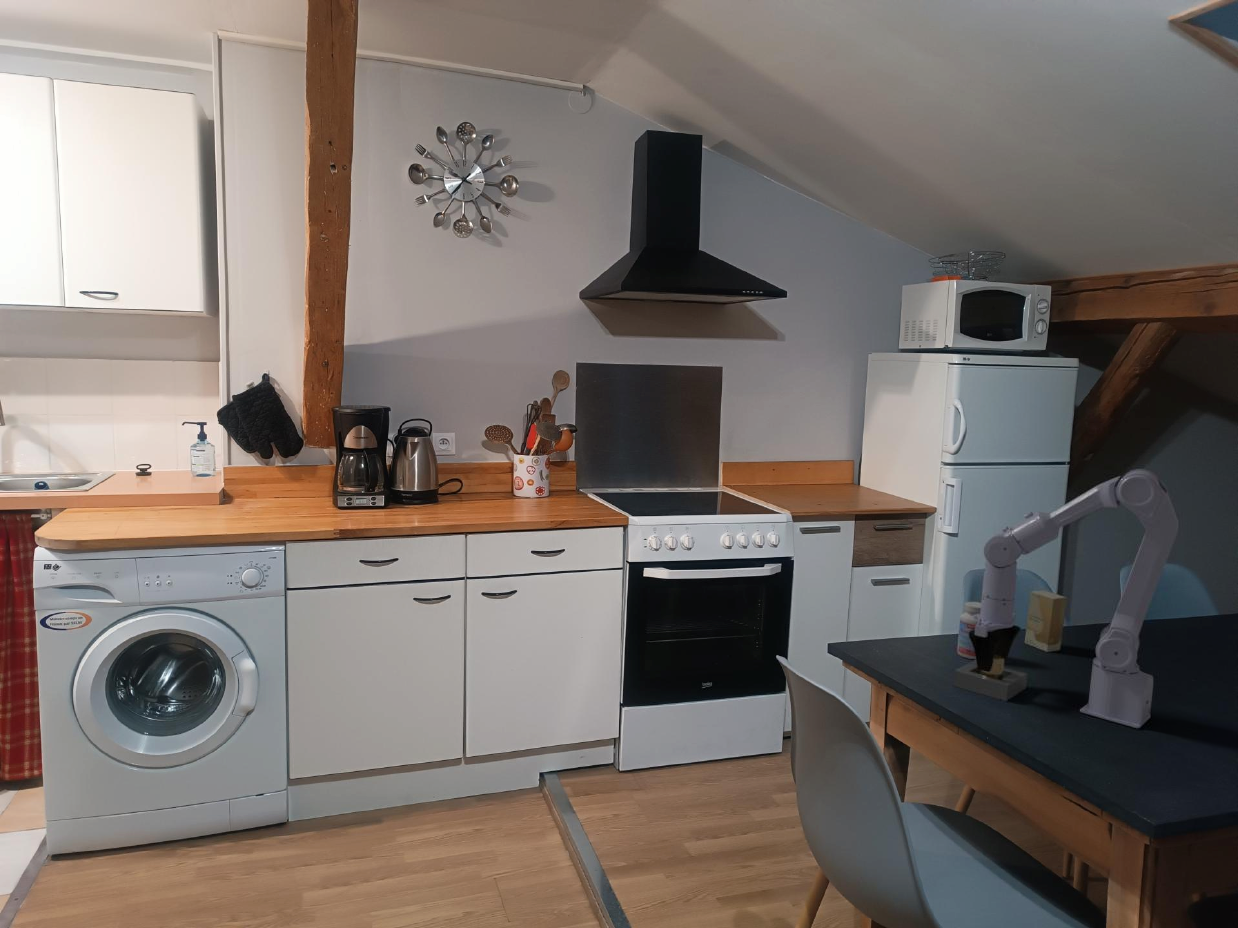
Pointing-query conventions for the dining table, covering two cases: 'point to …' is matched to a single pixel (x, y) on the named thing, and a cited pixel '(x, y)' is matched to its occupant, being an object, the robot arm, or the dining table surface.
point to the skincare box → (1045, 620)
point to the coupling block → (990, 682)
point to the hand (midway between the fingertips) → (991, 665)
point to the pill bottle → (967, 630)
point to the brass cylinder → (995, 668)
